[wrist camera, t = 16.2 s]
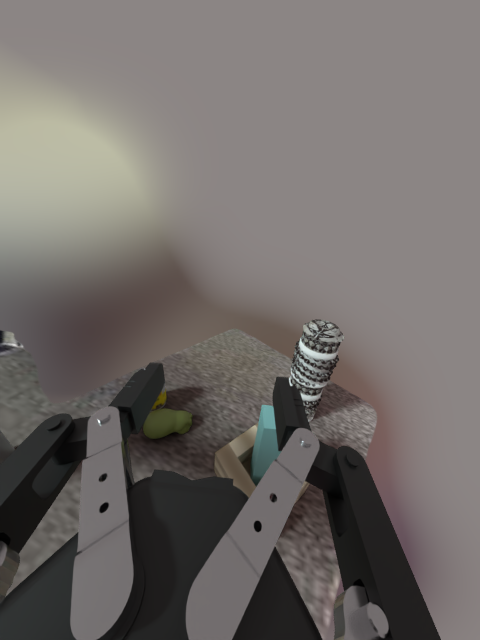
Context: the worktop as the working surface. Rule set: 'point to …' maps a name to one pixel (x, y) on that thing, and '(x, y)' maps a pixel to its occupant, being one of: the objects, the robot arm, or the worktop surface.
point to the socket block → (241, 462)
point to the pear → (166, 423)
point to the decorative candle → (315, 361)
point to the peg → (264, 445)
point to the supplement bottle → (160, 400)
